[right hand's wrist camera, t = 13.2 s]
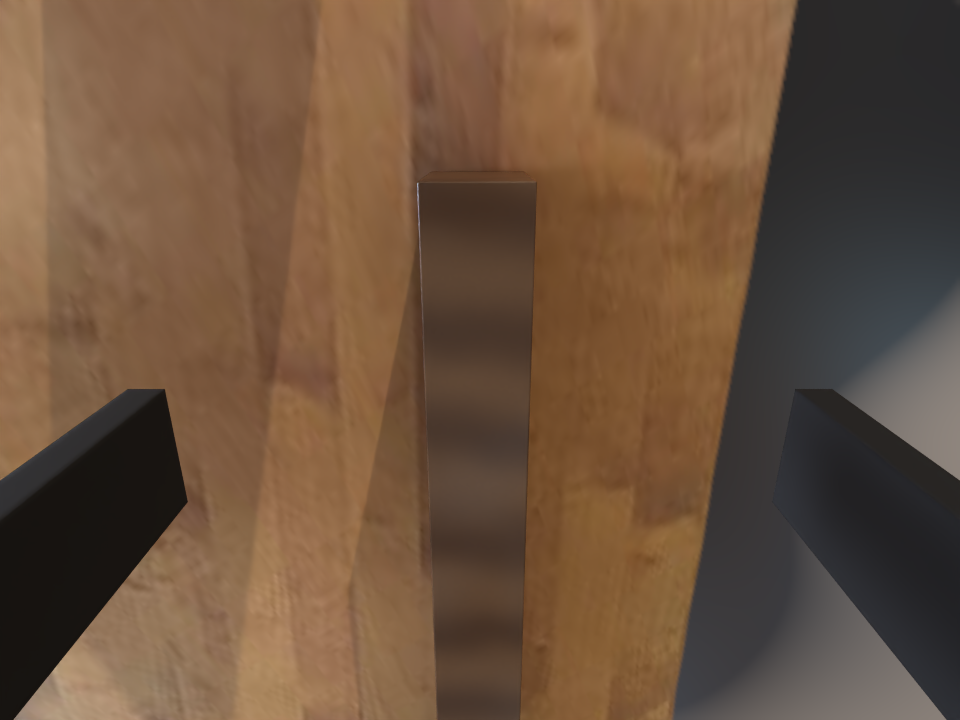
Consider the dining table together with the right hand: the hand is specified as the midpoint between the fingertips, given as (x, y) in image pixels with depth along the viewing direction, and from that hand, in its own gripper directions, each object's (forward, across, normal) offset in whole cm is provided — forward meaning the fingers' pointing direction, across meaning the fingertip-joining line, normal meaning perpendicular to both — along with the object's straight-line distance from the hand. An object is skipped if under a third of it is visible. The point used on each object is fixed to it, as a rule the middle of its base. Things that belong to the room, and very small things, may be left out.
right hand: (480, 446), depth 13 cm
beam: (+24, 0, -27) cm, 37 cm away
